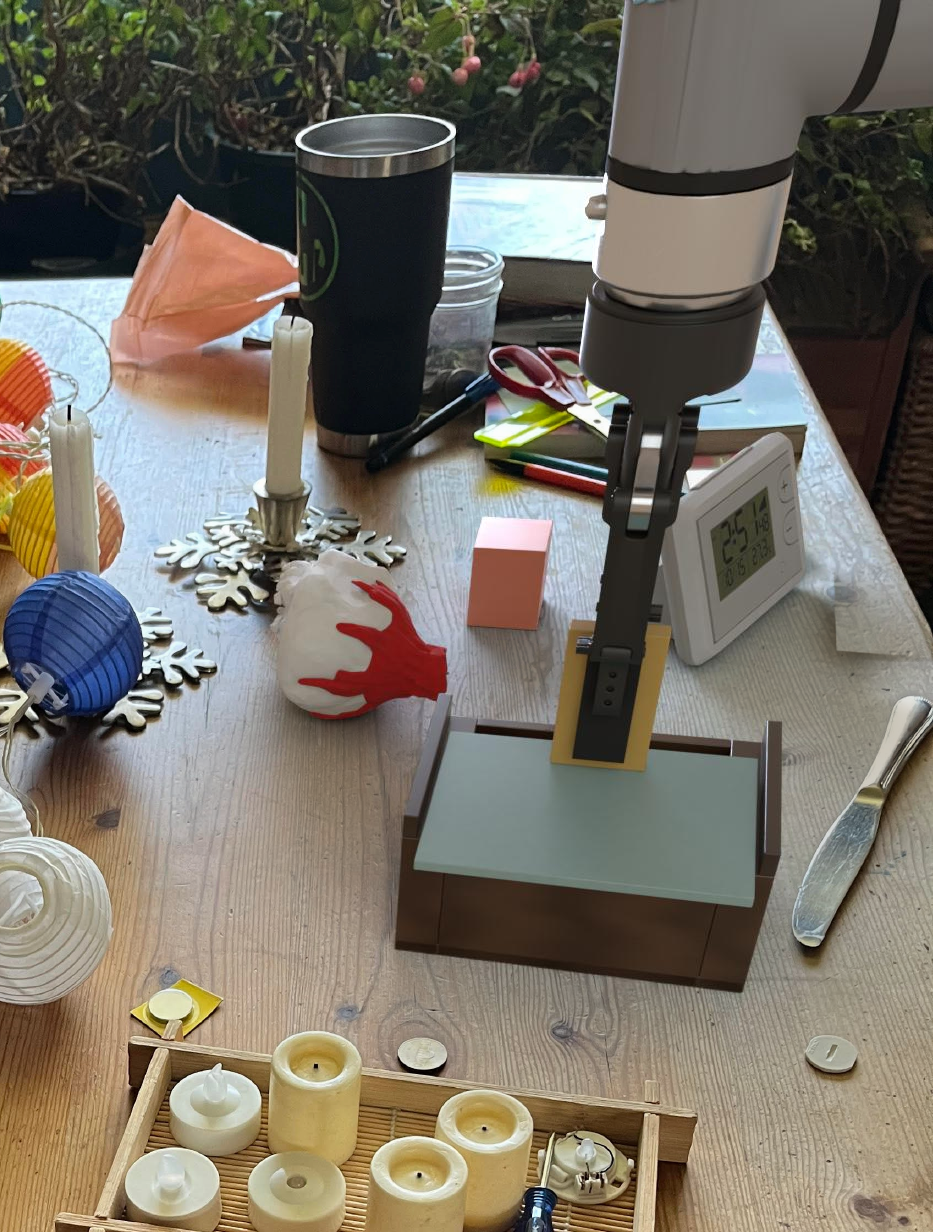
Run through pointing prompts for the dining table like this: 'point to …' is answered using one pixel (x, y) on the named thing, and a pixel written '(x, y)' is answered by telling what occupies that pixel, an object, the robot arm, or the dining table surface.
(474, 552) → the block
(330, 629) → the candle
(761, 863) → the case
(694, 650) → the digital clock
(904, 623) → the dining table surface
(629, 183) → the robot arm
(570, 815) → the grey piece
